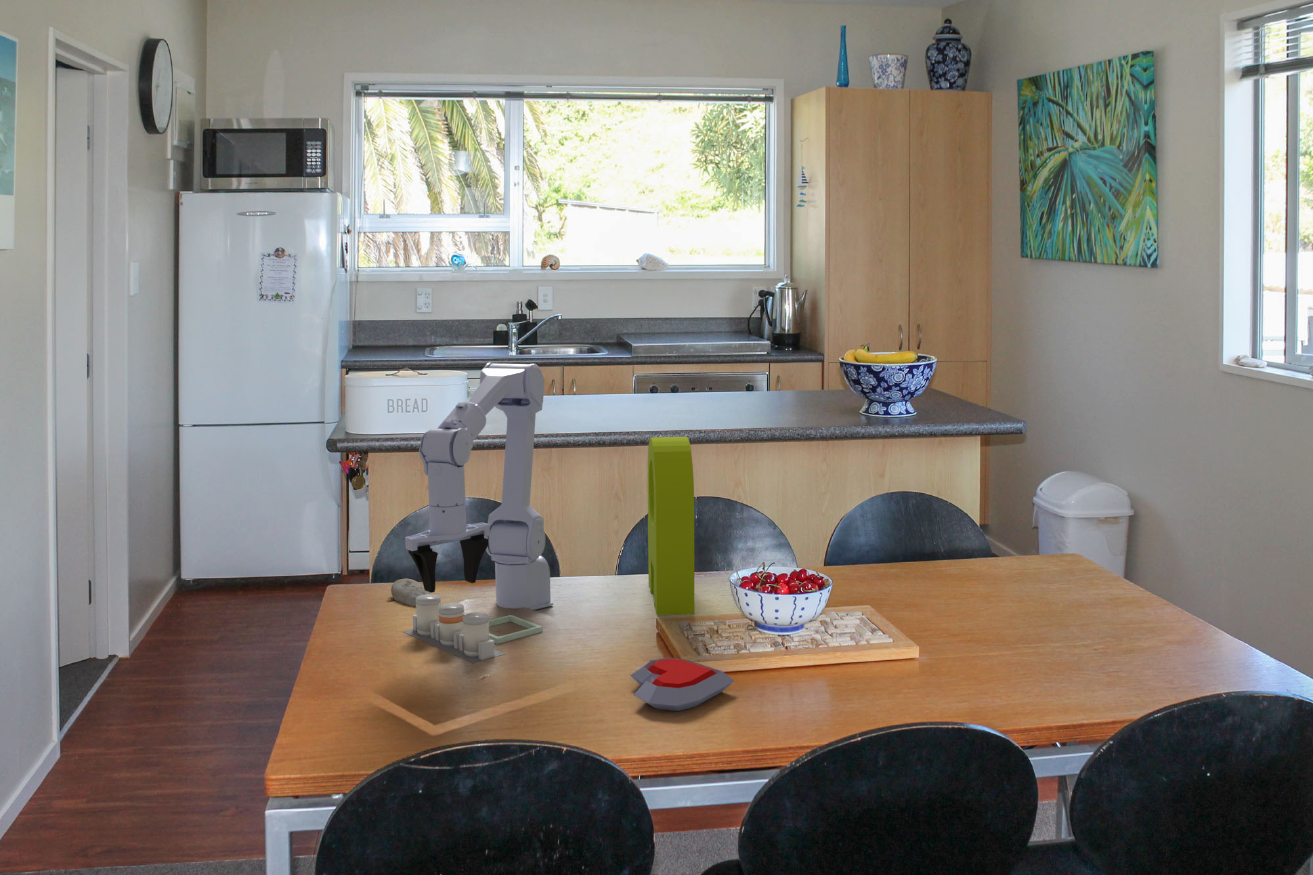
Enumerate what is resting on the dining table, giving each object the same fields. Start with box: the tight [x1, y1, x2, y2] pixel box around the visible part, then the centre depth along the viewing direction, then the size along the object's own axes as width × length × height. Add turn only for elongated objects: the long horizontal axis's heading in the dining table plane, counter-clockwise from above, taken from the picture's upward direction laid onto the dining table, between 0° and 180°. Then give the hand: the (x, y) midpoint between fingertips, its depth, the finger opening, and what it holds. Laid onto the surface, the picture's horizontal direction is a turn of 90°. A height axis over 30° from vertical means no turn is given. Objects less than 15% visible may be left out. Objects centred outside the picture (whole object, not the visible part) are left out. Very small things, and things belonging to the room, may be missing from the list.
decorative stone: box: [390, 578, 431, 608], centre depth 215 cm, size 6×16×3 cm, turn 32°
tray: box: [489, 614, 543, 645], centre depth 195 cm, size 9×9×2 cm
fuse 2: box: [463, 612, 490, 657], centre depth 184 cm, size 4×4×6 cm
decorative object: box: [647, 436, 696, 616], centre depth 214 cm, size 20×7×30 cm, turn 5°
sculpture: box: [629, 656, 735, 712], centre depth 169 cm, size 17×4×15 cm
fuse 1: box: [415, 593, 442, 636], centre depth 194 cm, size 4×4×6 cm
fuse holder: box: [402, 614, 506, 664], centre depth 189 cm, size 6×21×4 cm, turn 42°
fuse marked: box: [439, 602, 465, 647], centre depth 189 cm, size 4×4×6 cm
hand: (450, 586), depth 188 cm, fingers open, 7 cm apart
